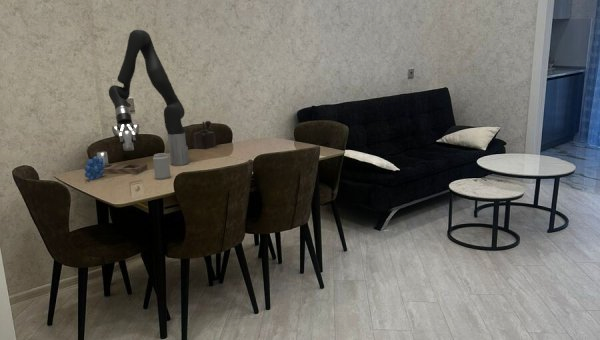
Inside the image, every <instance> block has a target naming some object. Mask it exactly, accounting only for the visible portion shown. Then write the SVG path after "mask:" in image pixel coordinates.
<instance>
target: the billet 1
mask: <svg viewBox="0 0 600 340" xmlns="http://www.w3.org/2000/svg"><path fill="white" fill-rule="evenodd" d="M96 156H97V157H98V159H99V158H102V159H103V163H104V164H105V168H107V167H109V164H110V163H109V158H108V152H107V151H98V152H96Z"/></svg>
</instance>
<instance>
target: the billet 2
mask: <svg viewBox="0 0 600 340" xmlns="http://www.w3.org/2000/svg"><path fill="white" fill-rule="evenodd" d="M122 137H123V144H122V147H123V151H126V152H127V151H128V152H129V151H134V150H135V147H134V143H133V137H132V130H123V131H122Z"/></svg>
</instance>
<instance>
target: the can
mask: <svg viewBox="0 0 600 340" xmlns="http://www.w3.org/2000/svg"><path fill="white" fill-rule="evenodd" d="M152 162H153V169H154V172H153V173H154V178H156V179H157V180H166V179H169V178H170V176H171V168H170V167H171V166H170V165H171V164H170V156H169V155H168V154H167V153H165V152H161V153H155V154H153V158H152Z"/></svg>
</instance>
